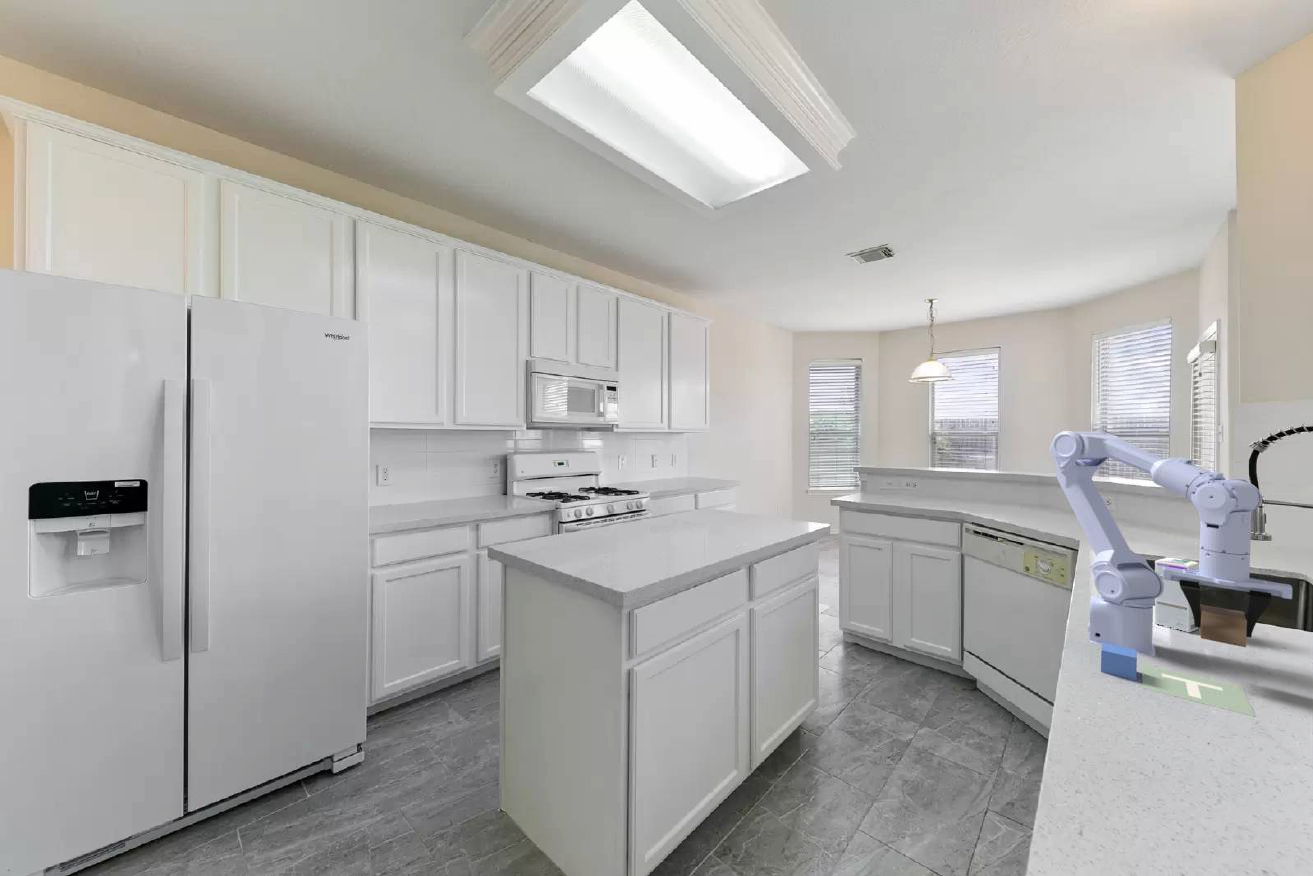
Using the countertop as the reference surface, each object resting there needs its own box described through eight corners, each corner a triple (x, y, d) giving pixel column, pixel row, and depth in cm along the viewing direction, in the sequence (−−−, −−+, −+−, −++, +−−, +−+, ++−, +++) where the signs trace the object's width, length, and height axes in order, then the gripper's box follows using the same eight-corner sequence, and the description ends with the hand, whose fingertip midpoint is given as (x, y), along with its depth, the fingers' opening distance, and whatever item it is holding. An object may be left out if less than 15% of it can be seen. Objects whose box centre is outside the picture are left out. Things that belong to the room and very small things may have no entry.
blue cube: (1100, 675, 89) (1101, 650, 89) (1101, 667, 92) (1102, 642, 92) (1136, 684, 86) (1136, 658, 86) (1135, 675, 89) (1136, 649, 89)
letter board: (1142, 691, 83) (1142, 688, 83) (1141, 667, 92) (1141, 663, 92) (1255, 720, 75) (1255, 716, 75) (1241, 690, 84) (1242, 686, 84)
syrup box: (1190, 633, 108) (1192, 565, 107) (1153, 624, 113) (1154, 558, 112) (1200, 629, 110) (1202, 562, 110) (1164, 619, 115) (1165, 556, 115)
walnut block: (1200, 638, 86) (1201, 612, 86) (1199, 629, 90) (1199, 604, 90) (1245, 647, 83) (1246, 620, 83) (1242, 638, 86) (1243, 612, 86)
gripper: (1164, 547, 88) (1162, 625, 89) (1297, 563, 78) (1294, 651, 79) (1163, 541, 93) (1161, 614, 94) (1288, 555, 83) (1285, 637, 84)
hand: (1221, 630), depth 86 cm, fingers closed on walnut block, 5 cm apart
